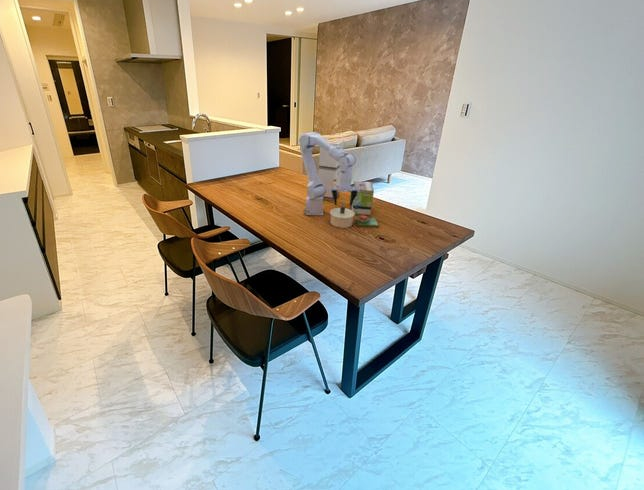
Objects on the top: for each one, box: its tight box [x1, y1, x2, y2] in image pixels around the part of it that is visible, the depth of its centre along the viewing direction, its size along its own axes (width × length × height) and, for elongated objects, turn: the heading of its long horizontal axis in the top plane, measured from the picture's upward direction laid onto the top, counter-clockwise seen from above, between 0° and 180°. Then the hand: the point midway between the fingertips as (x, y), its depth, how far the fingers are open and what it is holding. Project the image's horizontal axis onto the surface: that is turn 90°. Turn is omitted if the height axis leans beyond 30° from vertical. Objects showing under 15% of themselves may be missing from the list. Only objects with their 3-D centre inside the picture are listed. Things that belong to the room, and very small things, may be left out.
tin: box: [329, 214, 354, 229], centre depth 154 cm, size 11×11×5 cm
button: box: [359, 214, 368, 220], centre depth 153 cm, size 3×3×2 cm
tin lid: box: [329, 205, 356, 219], centre depth 152 cm, size 12×12×4 cm
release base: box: [355, 215, 379, 228], centre depth 154 cm, size 10×8×3 cm
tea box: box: [351, 180, 375, 216], centre depth 167 cm, size 15×10×15 cm
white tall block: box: [318, 138, 345, 202], centre depth 182 cm, size 11×11×35 cm
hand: (343, 204), depth 151 cm, fingers open, 7 cm apart
